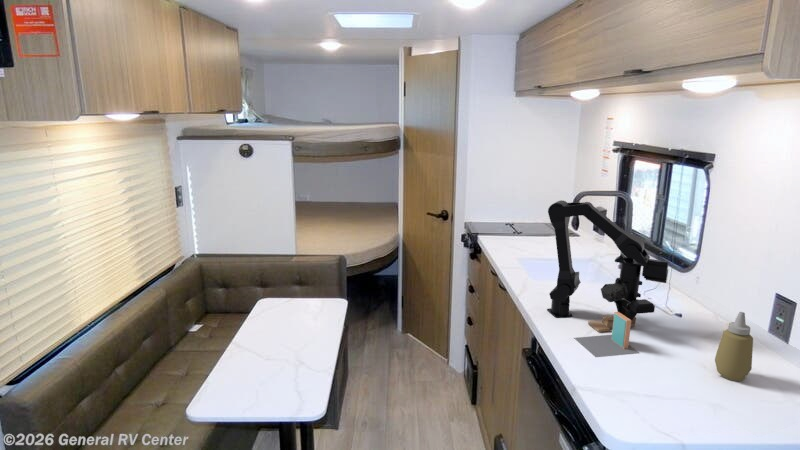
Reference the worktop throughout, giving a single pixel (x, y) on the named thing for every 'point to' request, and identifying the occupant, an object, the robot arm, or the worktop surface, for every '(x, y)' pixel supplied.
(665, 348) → the worktop surface
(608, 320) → the turner
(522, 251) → the worktop surface
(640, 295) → the robot arm
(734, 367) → the squeeze bottle
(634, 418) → the worktop surface
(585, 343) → the mat
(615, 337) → the tile
